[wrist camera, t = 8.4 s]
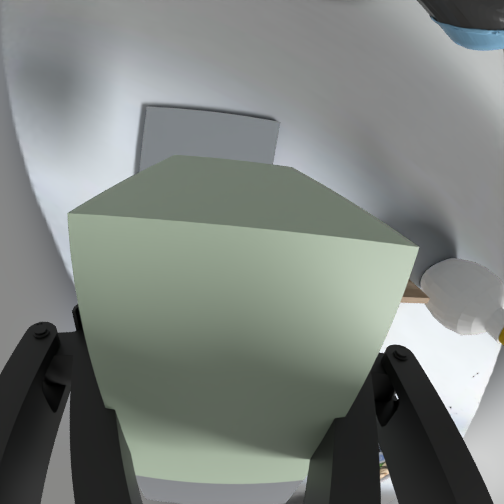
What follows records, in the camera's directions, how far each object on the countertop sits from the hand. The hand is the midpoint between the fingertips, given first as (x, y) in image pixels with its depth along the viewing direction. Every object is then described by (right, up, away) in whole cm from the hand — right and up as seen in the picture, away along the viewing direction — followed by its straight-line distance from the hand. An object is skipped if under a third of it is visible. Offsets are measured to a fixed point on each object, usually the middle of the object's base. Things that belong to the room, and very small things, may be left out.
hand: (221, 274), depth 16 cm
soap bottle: (+35, -2, +29) cm, 45 cm away
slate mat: (-4, +11, +20) cm, 23 cm away
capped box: (0, 0, +1) cm, 1 cm away
